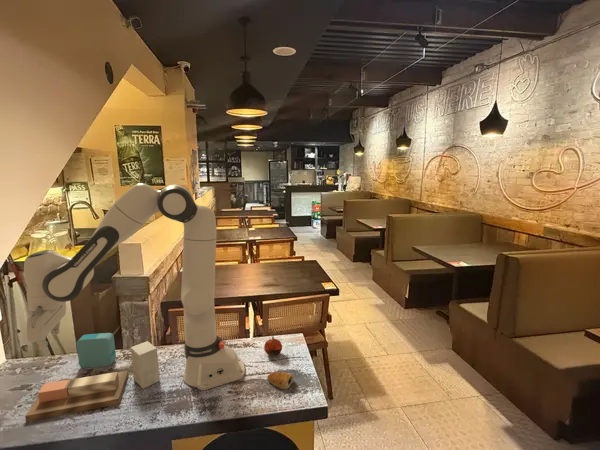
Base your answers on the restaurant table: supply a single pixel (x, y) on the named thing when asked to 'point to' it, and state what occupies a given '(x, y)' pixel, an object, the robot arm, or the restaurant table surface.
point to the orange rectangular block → (54, 391)
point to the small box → (145, 364)
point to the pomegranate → (273, 347)
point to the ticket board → (83, 396)
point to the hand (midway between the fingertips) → (50, 341)
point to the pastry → (281, 379)
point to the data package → (96, 350)
